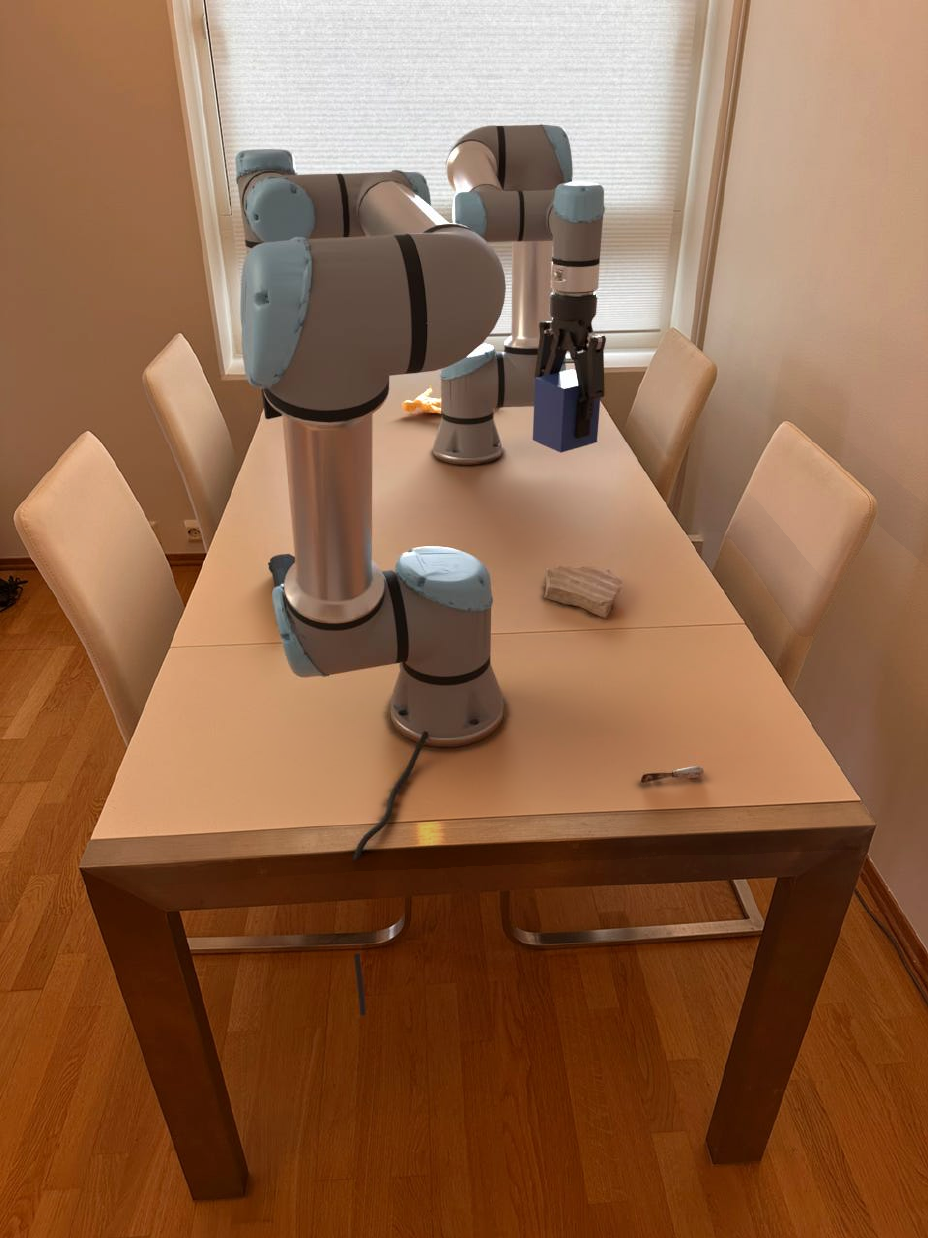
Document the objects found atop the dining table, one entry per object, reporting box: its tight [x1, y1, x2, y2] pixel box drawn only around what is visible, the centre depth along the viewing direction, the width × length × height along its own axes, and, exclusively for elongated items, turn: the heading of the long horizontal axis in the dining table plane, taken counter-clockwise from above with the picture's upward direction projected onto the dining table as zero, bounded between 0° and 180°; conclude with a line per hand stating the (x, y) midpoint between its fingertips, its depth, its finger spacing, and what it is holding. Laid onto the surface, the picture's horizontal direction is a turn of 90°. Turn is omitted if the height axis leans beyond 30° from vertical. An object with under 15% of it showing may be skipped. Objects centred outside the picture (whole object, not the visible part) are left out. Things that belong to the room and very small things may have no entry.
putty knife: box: [640, 765, 705, 784], centre depth 109 cm, size 1×8×2 cm, turn 103°
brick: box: [532, 368, 601, 454], centre depth 152 cm, size 8×7×11 cm
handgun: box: [267, 553, 295, 588], centre depth 148 cm, size 3×18×12 cm
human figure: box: [402, 385, 441, 415], centre depth 225 cm, size 20×20×4 cm
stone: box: [544, 565, 622, 619], centre depth 147 cm, size 13×12×2 cm
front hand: (294, 429), depth 132 cm, fingers open, 13 cm apart
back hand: (565, 429), depth 154 cm, fingers closed on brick, 7 cm apart
